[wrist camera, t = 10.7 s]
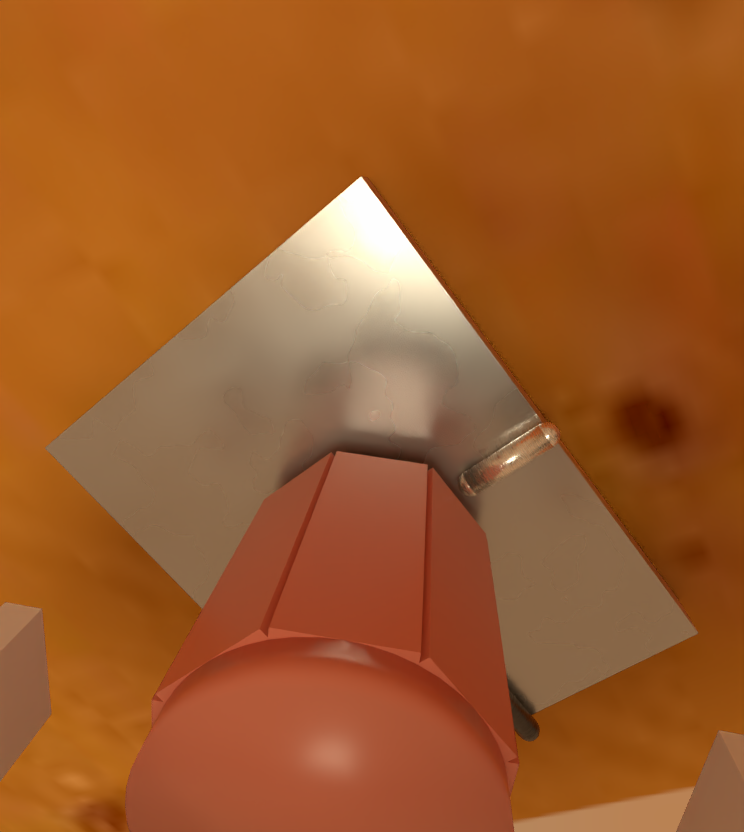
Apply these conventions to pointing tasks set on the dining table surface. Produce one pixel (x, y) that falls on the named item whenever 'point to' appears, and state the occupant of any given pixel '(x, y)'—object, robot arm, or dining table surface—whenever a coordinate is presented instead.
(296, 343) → the plate
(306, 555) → the wire nut
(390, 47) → the dining table surface
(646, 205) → the dining table surface
